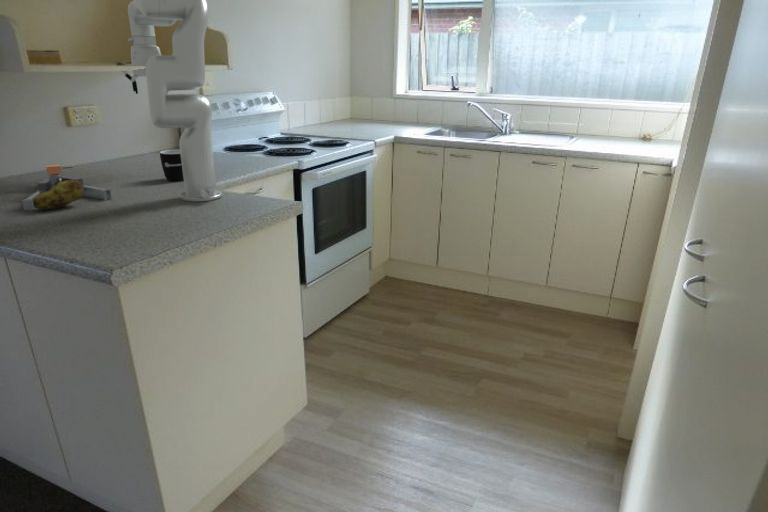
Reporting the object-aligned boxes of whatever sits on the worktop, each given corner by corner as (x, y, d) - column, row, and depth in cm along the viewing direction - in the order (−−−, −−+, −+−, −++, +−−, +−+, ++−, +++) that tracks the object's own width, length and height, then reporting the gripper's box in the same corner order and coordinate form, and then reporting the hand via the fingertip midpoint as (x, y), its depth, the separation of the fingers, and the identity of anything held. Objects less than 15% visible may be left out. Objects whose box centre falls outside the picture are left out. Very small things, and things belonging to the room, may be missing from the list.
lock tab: (61, 173, 174) (60, 166, 173) (47, 174, 172) (46, 167, 171) (61, 171, 176) (59, 164, 176) (47, 172, 174) (45, 165, 174)
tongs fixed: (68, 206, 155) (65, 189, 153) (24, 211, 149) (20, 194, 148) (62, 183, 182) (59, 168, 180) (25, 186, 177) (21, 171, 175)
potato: (39, 206, 155) (33, 179, 152) (88, 202, 159) (83, 176, 156) (32, 213, 148) (26, 185, 145) (84, 209, 152) (78, 182, 149)
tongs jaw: (58, 191, 171) (55, 176, 169) (65, 190, 173) (62, 175, 171) (105, 200, 162) (102, 184, 160) (112, 198, 164) (109, 183, 162)
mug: (161, 182, 185) (157, 154, 181) (166, 177, 193) (162, 149, 189) (196, 181, 187) (193, 153, 183) (199, 176, 195) (196, 149, 192)
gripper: (116, 41, 176) (124, 94, 182) (171, 42, 182) (177, 93, 189) (117, 41, 182) (125, 93, 188) (170, 42, 189) (176, 92, 195)
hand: (151, 93), depth 188 cm, fingers open, 9 cm apart
